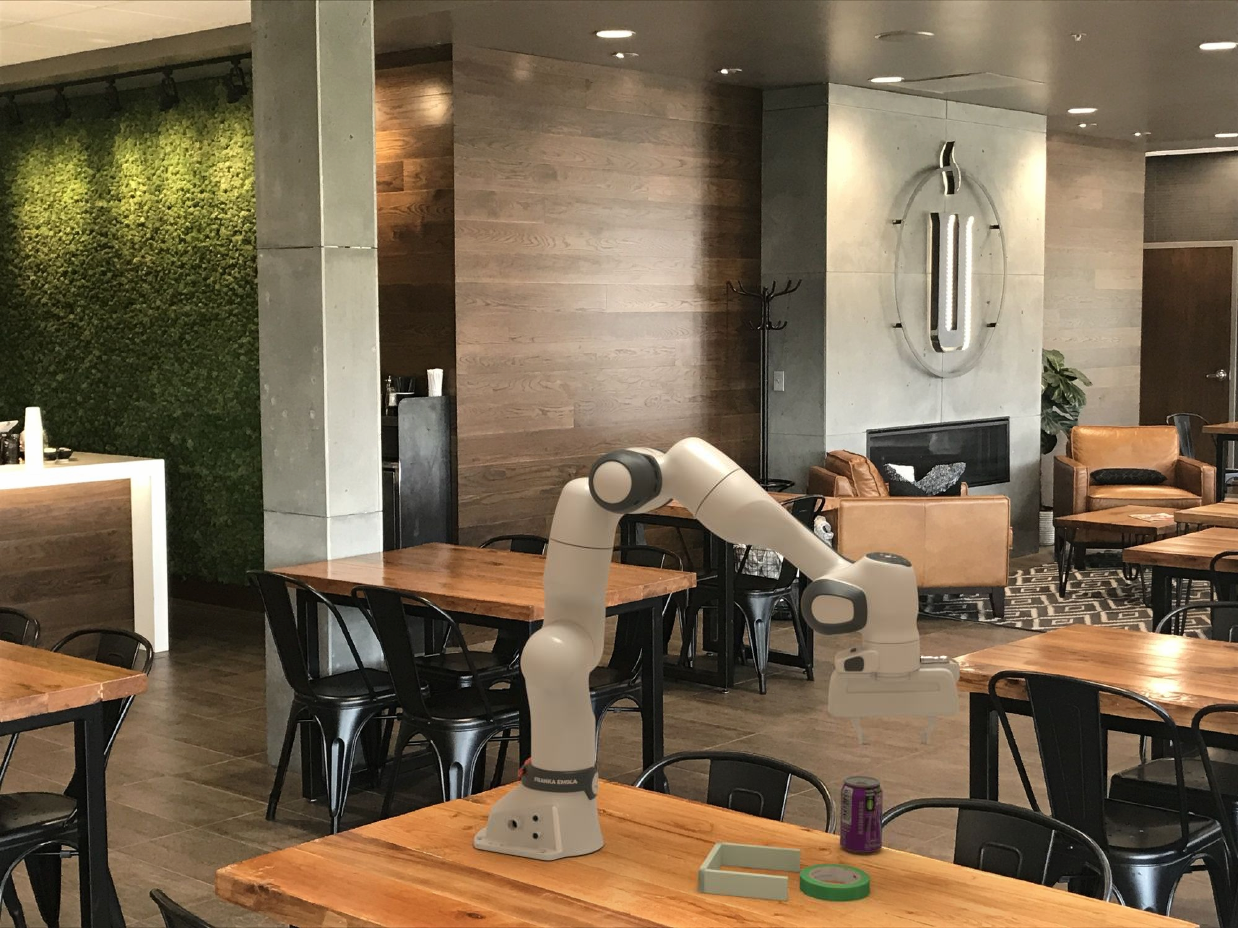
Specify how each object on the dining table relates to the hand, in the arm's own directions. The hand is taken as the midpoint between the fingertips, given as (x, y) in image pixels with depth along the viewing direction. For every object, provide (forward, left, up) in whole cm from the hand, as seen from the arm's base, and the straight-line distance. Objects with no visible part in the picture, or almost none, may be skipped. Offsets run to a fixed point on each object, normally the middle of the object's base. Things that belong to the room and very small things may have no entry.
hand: (894, 743), depth 229 cm
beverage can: (-7, +20, -24) cm, 32 cm away
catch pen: (-22, -2, -24) cm, 32 cm away
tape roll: (-9, -2, -24) cm, 26 cm away
